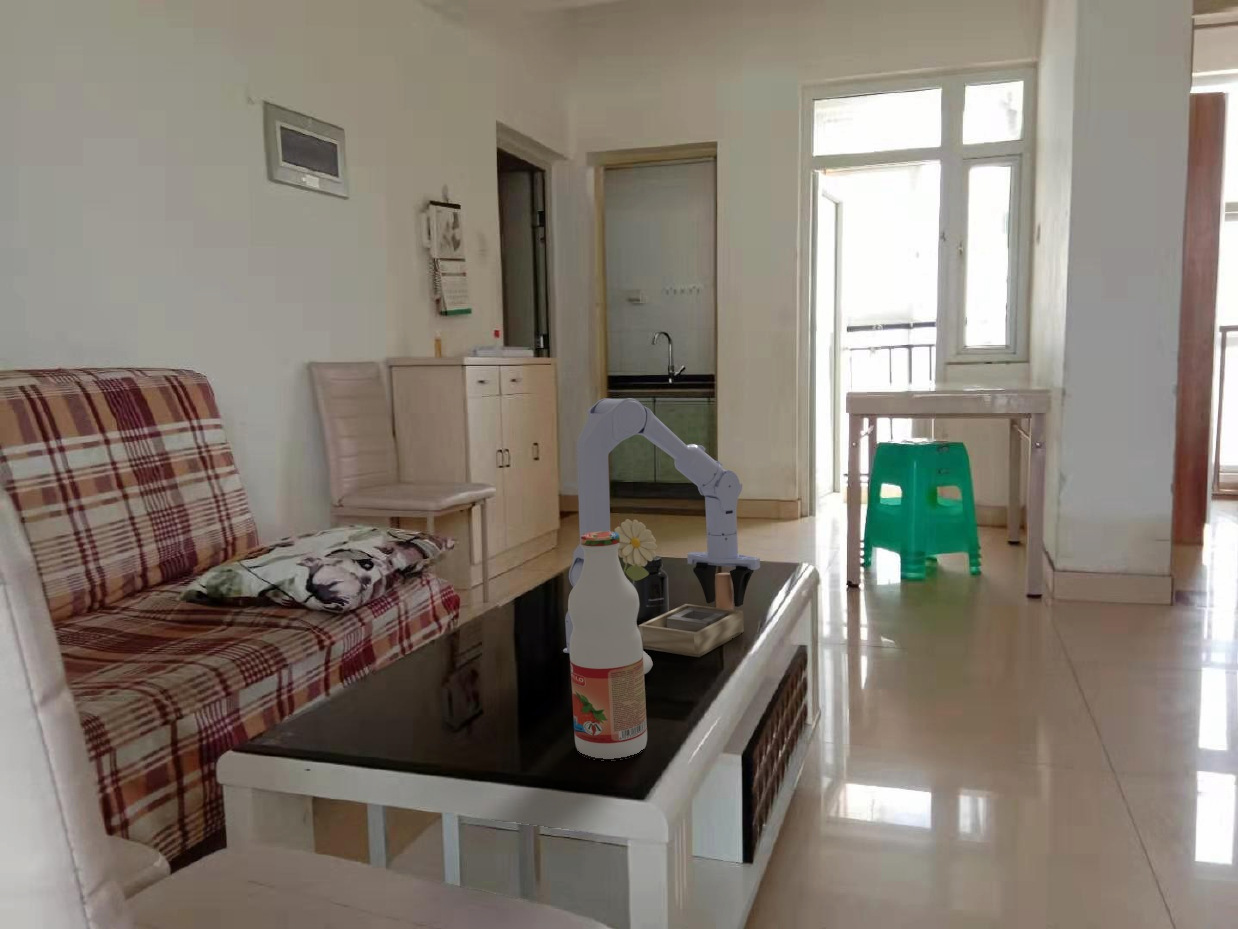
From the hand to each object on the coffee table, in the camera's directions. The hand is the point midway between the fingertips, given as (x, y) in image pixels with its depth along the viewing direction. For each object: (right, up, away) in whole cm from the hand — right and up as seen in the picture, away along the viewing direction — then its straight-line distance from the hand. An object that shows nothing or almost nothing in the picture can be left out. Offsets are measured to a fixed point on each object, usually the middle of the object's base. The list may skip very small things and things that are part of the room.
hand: (724, 603), depth 176 cm
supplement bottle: (-14, -4, +5) cm, 15 cm away
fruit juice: (-21, -11, -55) cm, 60 cm away
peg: (0, -3, 0) cm, 3 cm away
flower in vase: (-19, -8, -27) cm, 34 cm away
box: (-7, -5, -10) cm, 13 cm away
